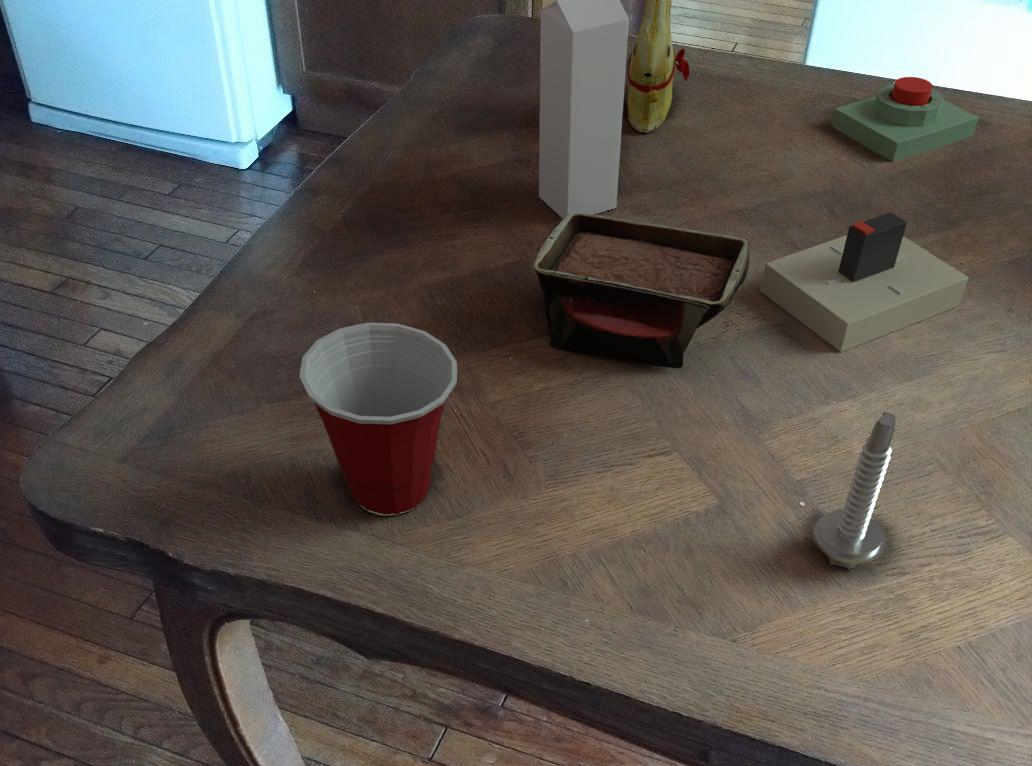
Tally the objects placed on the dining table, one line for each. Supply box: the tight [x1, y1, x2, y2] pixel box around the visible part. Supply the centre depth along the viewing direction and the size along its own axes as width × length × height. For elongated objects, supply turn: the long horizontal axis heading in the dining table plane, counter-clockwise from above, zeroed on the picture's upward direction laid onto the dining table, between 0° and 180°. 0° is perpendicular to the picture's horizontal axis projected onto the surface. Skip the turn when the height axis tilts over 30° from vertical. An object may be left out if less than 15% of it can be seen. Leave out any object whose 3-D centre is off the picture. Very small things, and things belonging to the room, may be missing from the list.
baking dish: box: [532, 213, 751, 369], centre depth 92 cm, size 14×18×10 cm
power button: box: [891, 76, 933, 106], centre depth 117 cm, size 4×4×2 cm
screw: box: [812, 411, 897, 570], centre depth 71 cm, size 13×5×5 cm
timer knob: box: [838, 212, 908, 282], centre depth 93 cm, size 5×2×5 cm, turn 118°
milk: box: [538, 0, 630, 219], centre depth 102 cm, size 6×6×22 cm
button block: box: [830, 83, 980, 163], centre depth 119 cm, size 12×10×4 cm
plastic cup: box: [299, 322, 458, 514], centre depth 77 cm, size 11×11×12 cm
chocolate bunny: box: [626, 0, 690, 131], centre depth 118 cm, size 7×11×15 cm, turn 168°
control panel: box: [760, 234, 970, 353], centre depth 96 cm, size 14×11×3 cm
